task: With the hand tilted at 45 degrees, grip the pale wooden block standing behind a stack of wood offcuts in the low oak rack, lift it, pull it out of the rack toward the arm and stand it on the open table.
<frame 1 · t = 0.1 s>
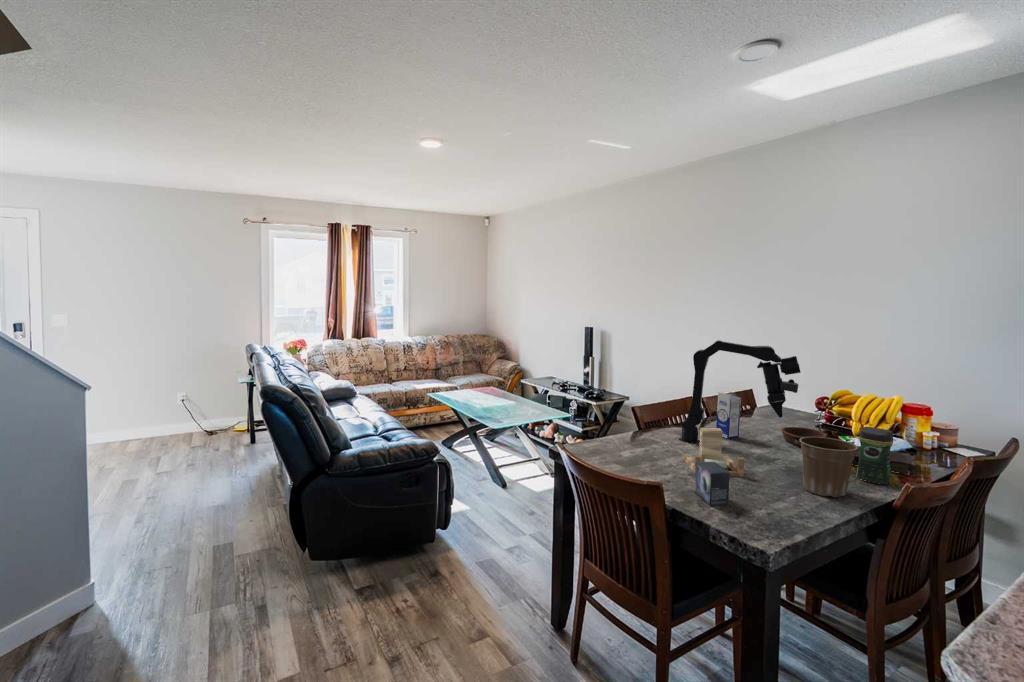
hand: (780, 415, 213), 15 cm above the table, tool pointing down, fingers open, 9 cm apart
plant pot: (824, 491, 173), on the table
pale wooden block: (709, 466, 196), on the table
offcut top: (715, 465, 189), point 3 cm above the table, touching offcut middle
dish: (802, 443, 230), on the table
rack: (709, 466, 196), on the table
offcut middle: (714, 469, 189), point 1 cm above the table, touching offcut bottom, offcut top
small box: (710, 499, 165), on the table
diary: (869, 464, 203), on the table
coffee jar: (872, 481, 183), on the table
milk carton: (727, 437, 237), on the table
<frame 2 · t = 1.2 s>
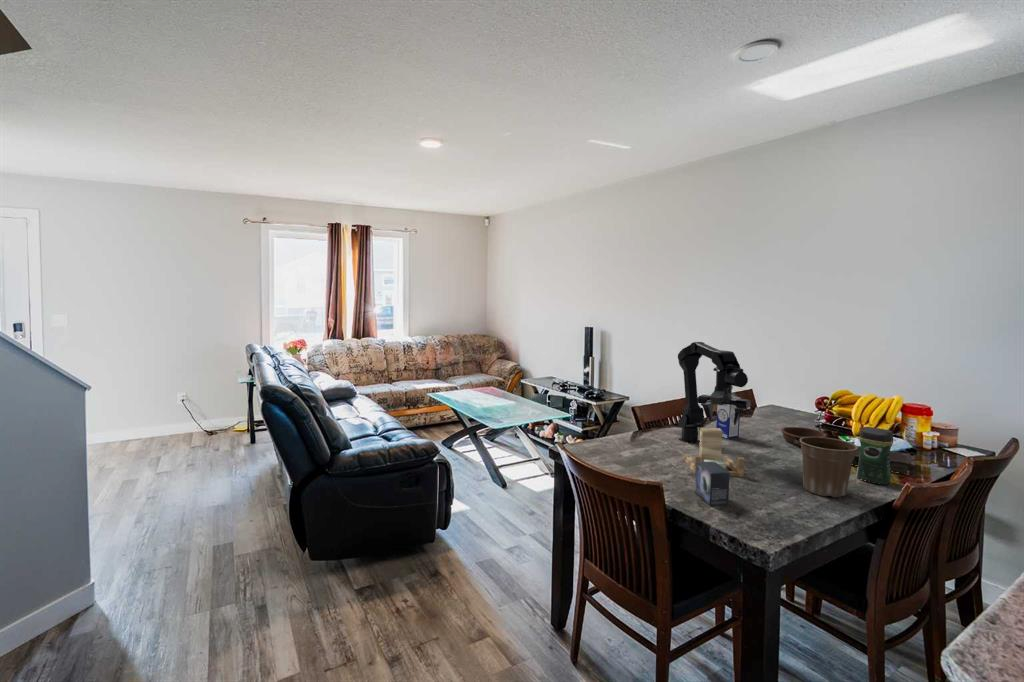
hand: (722, 423, 207), 13 cm above the table, tool pointing down, fingers open, 9 cm apart
nothing on the table moved.
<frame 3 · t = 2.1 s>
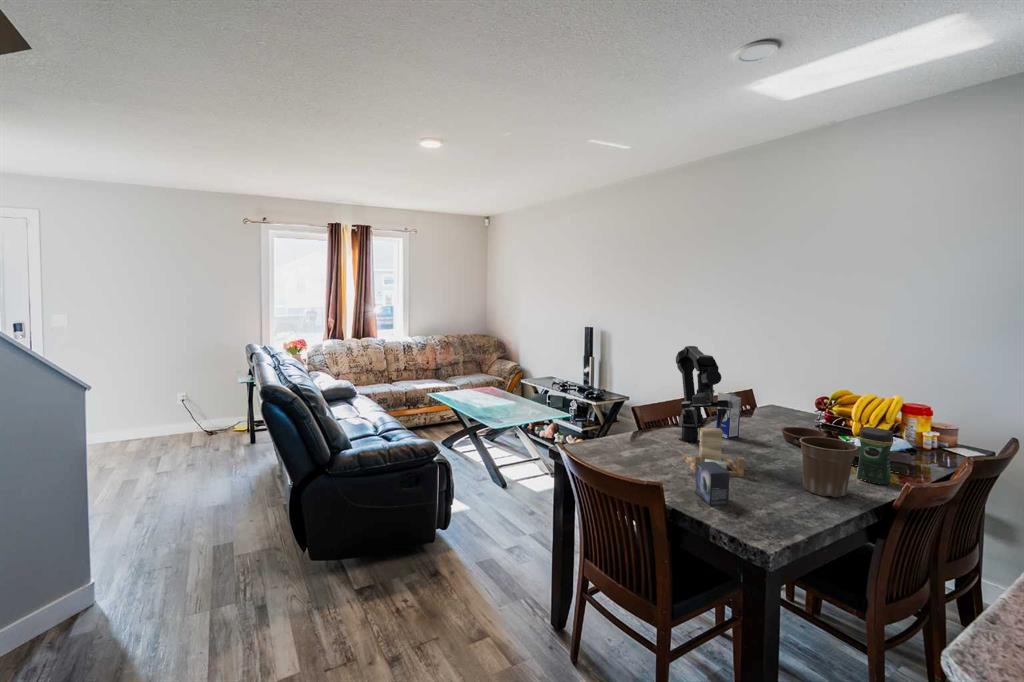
hand: (707, 427, 206), 12 cm above the table, tool tilted 15°, fingers open, 9 cm apart
nothing on the table moved.
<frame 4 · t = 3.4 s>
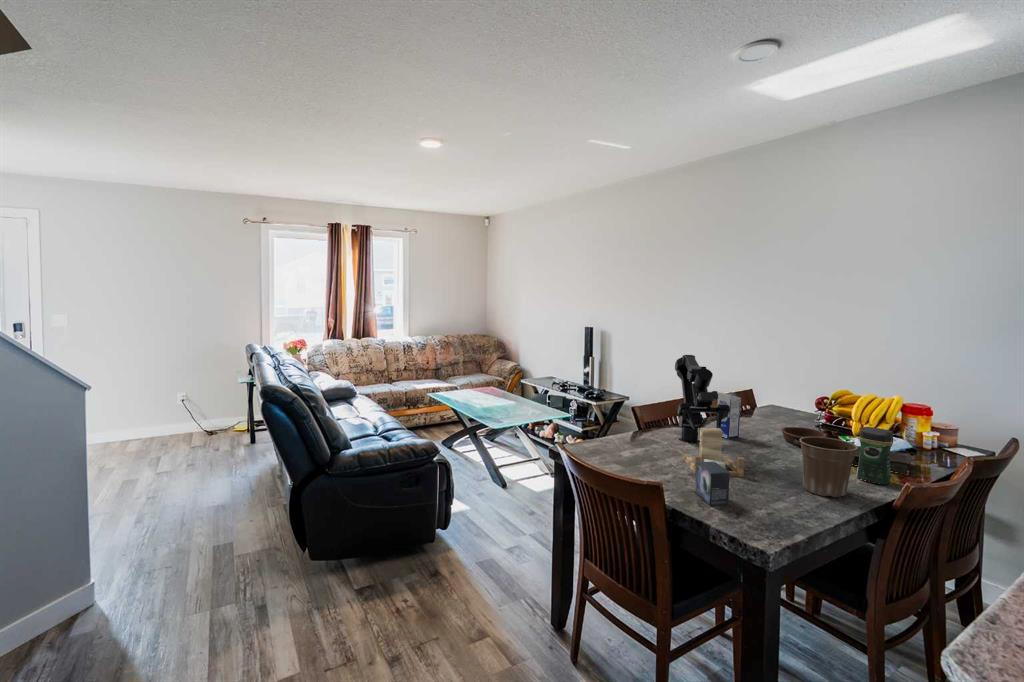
hand: (706, 429, 201), 12 cm above the table, tool tilted 45°, fingers open, 9 cm apart
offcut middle: (713, 470, 189), point 1 cm above the table, touching offcut top
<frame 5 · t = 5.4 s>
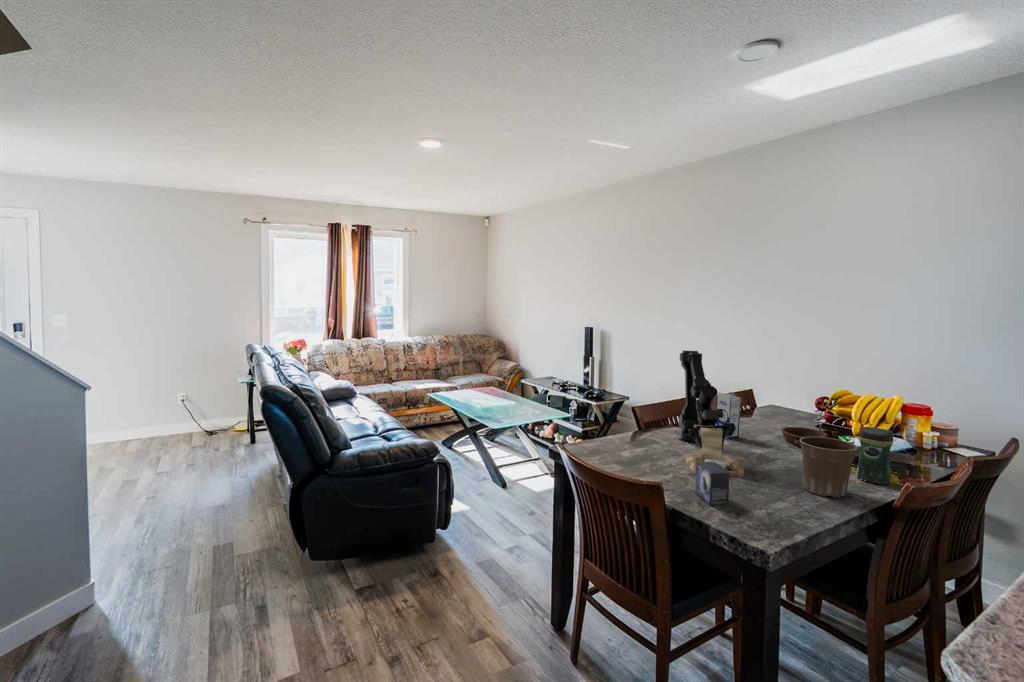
hand: (711, 448, 194), 7 cm above the table, tool tilted 45°, fingers closed on pale wooden block, 7 cm apart
pale wooden block: (709, 466, 196), on the table, touching gripper
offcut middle: (714, 470, 190), point 1 cm above the table, touching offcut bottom, offcut top
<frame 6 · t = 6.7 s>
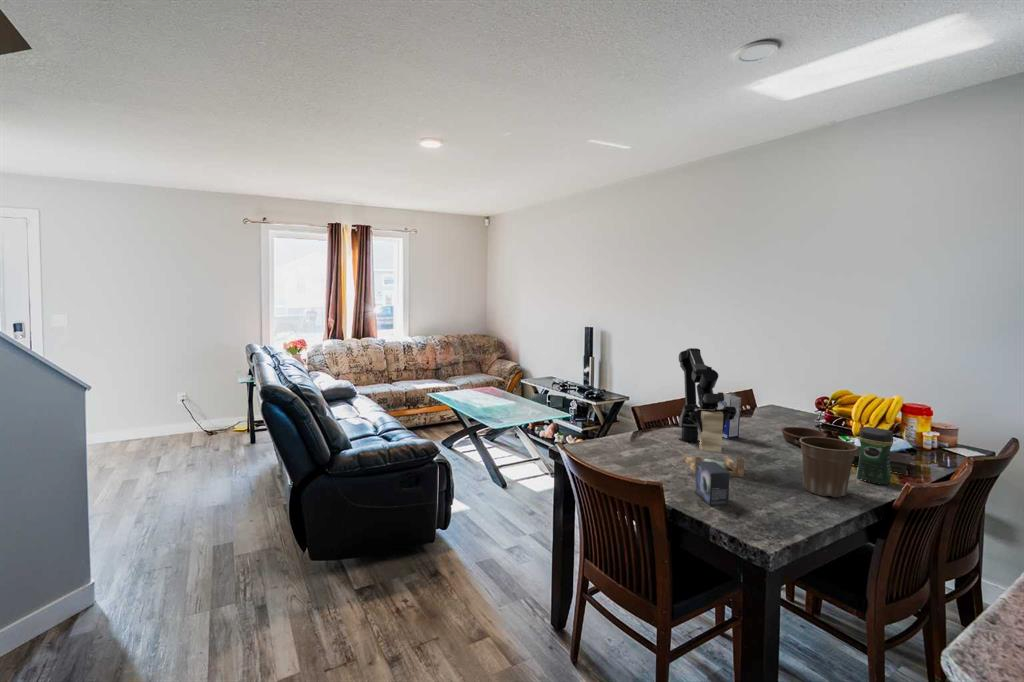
hand: (712, 432, 194), 13 cm above the table, tool tilted 45°, fingers closed on pale wooden block, 7 cm apart
pale wooden block: (710, 449, 196), point 6 cm above the table, touching gripper
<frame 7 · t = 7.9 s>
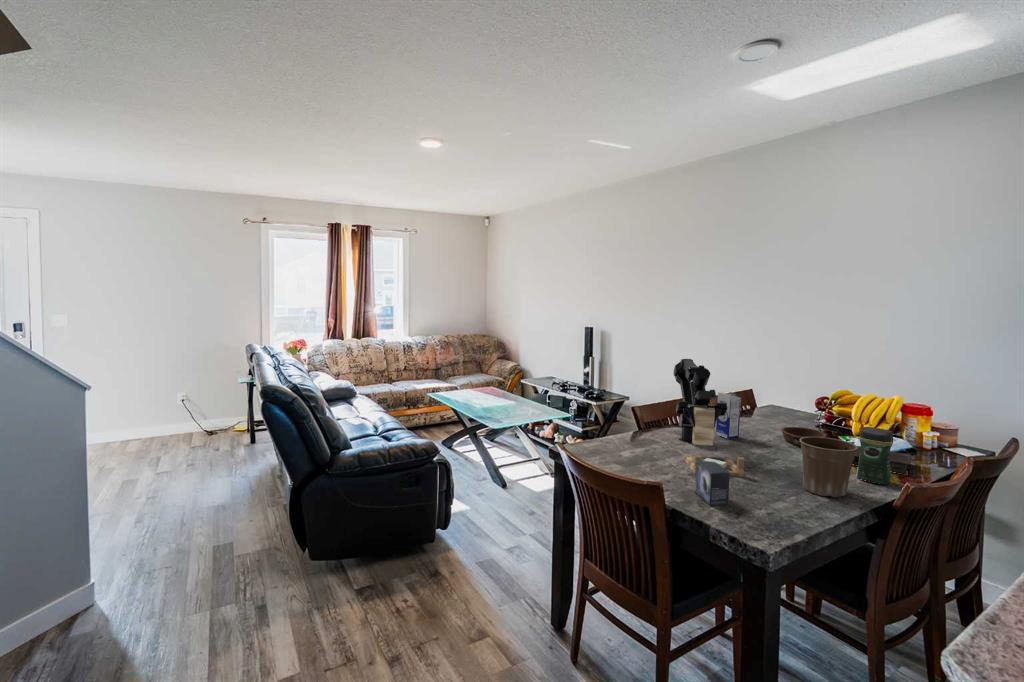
hand: (704, 427, 205), 12 cm above the table, tool tilted 45°, fingers closed on pale wooden block, 7 cm apart
pale wooden block: (702, 443, 207), point 5 cm above the table, touching gripper
offcut top: (714, 465, 189), point 2 cm above the table
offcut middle: (714, 469, 190), point 1 cm above the table, touching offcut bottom
everything else where it was.
when the fingers open (8 cm above the table, at t = 9.1 s): pale wooden block stays where it is, on the table.
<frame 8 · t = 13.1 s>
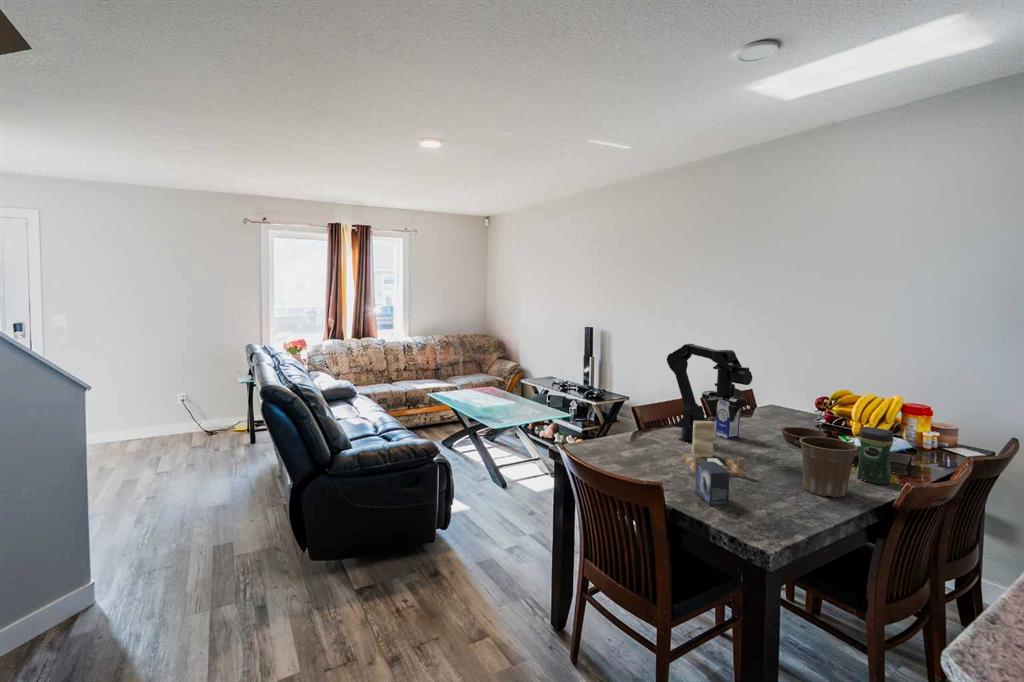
hand: (722, 419, 215), 13 cm above the table, tool pointing down, fingers open, 9 cm apart
pale wooden block: (701, 457, 207), on the table
at the end: pale wooden block inside the target area (0.2 cm from its centre), on the table; pale wooden block tilted 0°; the gripper is holding nothing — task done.
